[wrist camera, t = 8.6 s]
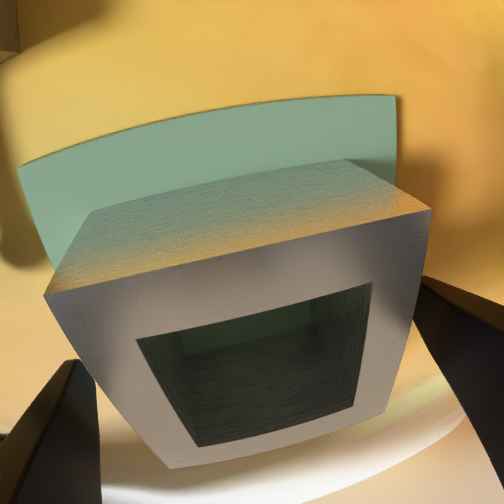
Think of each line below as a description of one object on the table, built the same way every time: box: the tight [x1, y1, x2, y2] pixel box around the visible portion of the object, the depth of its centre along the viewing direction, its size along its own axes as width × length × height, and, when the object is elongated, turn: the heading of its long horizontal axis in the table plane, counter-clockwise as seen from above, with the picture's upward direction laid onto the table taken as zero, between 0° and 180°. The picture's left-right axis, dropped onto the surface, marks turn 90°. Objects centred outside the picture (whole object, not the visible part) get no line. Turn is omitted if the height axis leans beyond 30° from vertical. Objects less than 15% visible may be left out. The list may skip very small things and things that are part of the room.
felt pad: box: [16, 94, 397, 355], centre depth 10 cm, size 10×10×1 cm
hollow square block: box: [43, 159, 432, 469], centre depth 8 cm, size 7×7×4 cm
